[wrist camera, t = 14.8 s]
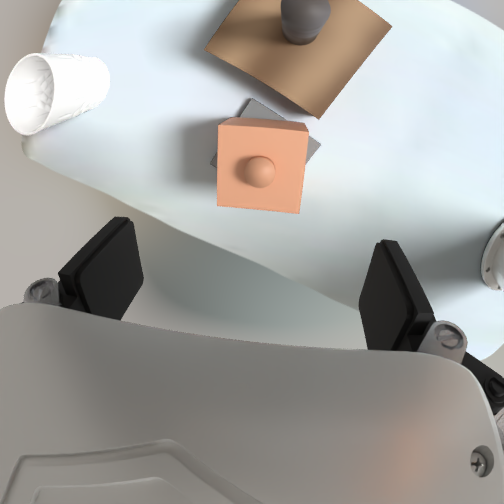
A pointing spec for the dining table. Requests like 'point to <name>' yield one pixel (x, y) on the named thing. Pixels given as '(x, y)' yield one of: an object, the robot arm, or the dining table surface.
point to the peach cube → (261, 164)
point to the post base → (300, 45)
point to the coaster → (263, 112)
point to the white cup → (53, 90)
